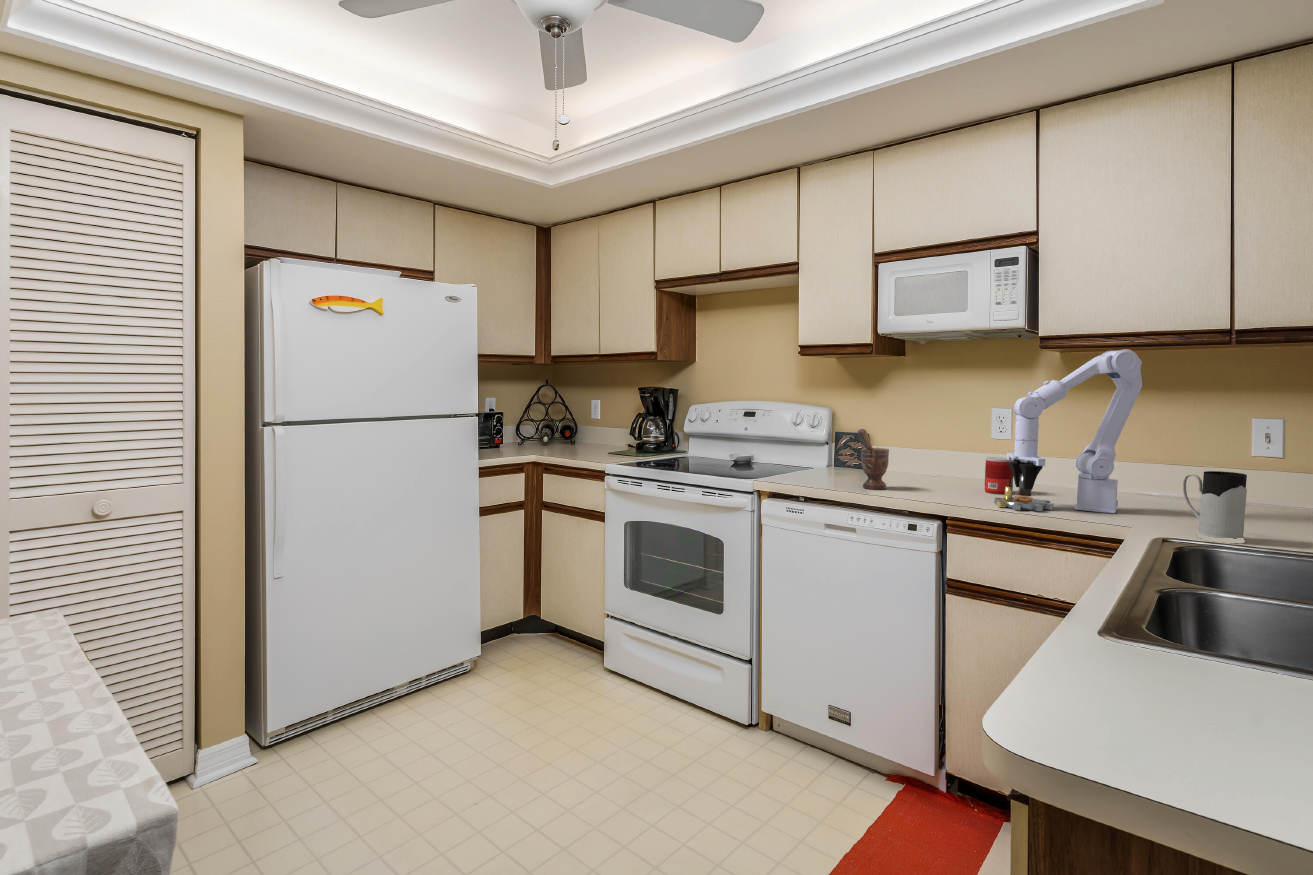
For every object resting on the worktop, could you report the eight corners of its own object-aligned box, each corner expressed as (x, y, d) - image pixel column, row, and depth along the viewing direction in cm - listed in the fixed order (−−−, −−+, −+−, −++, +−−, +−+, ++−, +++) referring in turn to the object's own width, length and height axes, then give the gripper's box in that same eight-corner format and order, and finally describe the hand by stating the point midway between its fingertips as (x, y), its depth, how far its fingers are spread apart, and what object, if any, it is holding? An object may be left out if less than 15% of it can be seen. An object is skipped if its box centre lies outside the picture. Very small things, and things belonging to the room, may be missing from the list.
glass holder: (1222, 544, 150) (1227, 476, 149) (1164, 530, 164) (1168, 468, 163) (1256, 542, 151) (1261, 475, 150) (1196, 528, 165) (1200, 467, 164)
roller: (1020, 493, 195) (1021, 473, 194) (1032, 495, 193) (1034, 474, 192) (1016, 495, 193) (1018, 474, 192) (1029, 496, 190) (1030, 475, 190)
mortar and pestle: (878, 492, 217) (880, 429, 216) (852, 489, 223) (853, 428, 221) (891, 488, 226) (893, 427, 225) (866, 485, 232) (867, 426, 230)
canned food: (1015, 495, 213) (1017, 460, 212) (988, 494, 214) (989, 459, 213) (1008, 491, 220) (1009, 457, 219) (981, 490, 222) (983, 456, 221)
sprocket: (1031, 501, 201) (1032, 482, 200) (1065, 510, 186) (1066, 490, 186) (984, 501, 200) (984, 483, 199) (1013, 511, 185) (1014, 491, 185)
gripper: (997, 437, 198) (995, 484, 199) (1028, 442, 184) (1026, 492, 185) (1020, 437, 199) (1018, 484, 200) (1053, 442, 184) (1051, 492, 185)
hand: (1023, 488), depth 192 cm, fingers closed on roller, 3 cm apart
